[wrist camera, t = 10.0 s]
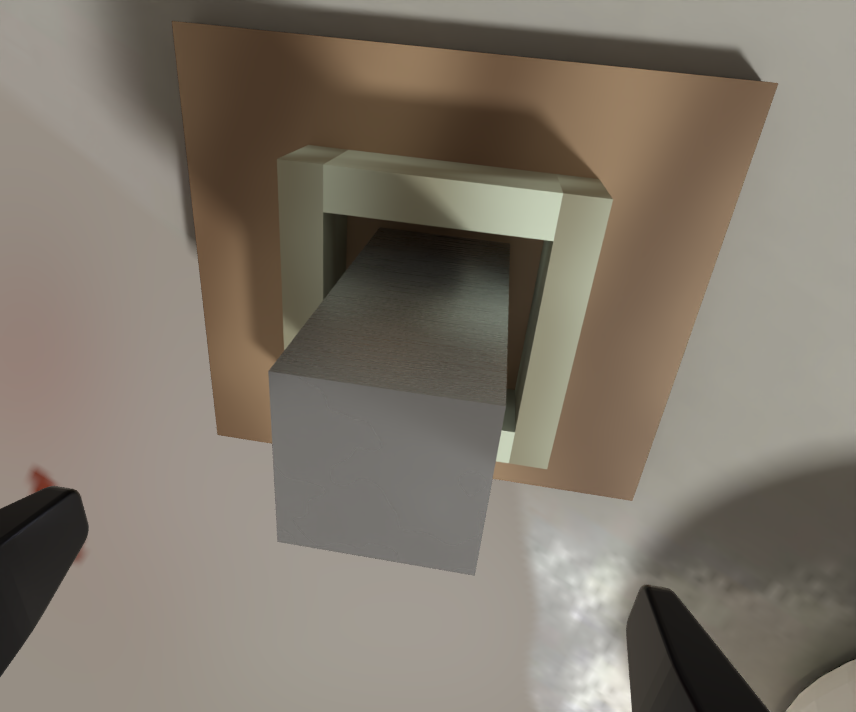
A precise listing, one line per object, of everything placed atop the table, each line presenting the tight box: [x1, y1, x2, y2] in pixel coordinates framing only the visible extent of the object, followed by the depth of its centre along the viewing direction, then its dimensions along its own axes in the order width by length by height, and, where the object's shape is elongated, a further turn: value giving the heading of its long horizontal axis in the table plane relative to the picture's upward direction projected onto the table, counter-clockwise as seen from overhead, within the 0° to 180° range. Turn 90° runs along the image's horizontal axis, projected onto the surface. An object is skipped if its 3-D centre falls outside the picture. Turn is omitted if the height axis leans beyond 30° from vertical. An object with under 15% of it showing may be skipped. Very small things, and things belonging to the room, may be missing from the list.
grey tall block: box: [268, 227, 510, 575], centre depth 14 cm, size 4×4×9 cm
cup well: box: [172, 21, 778, 501], centre depth 18 cm, size 16×14×4 cm
